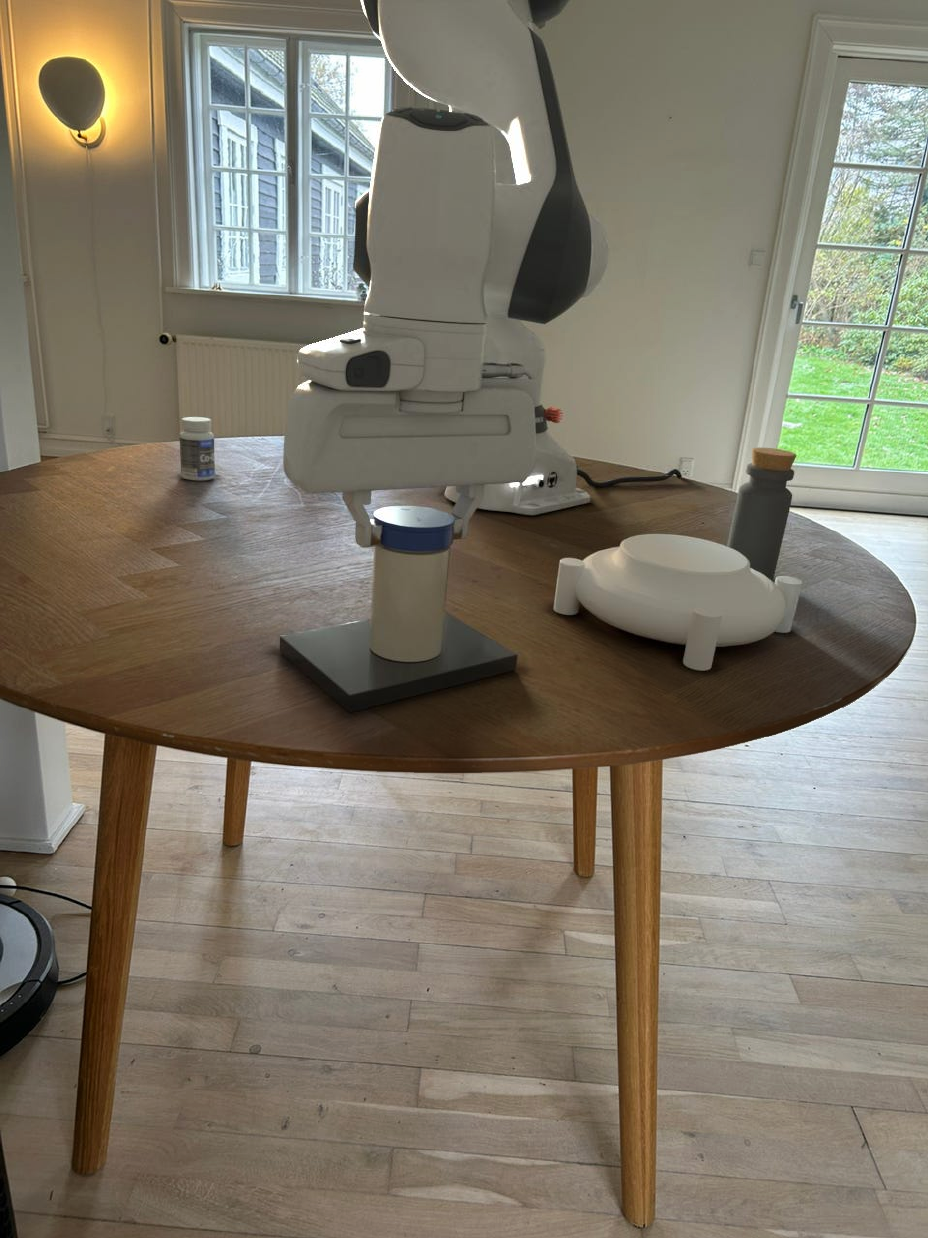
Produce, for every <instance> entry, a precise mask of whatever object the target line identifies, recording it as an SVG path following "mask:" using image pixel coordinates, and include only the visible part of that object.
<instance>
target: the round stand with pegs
mask: <svg viewBox="0 0 928 1238" xmlns="http://www.w3.org/2000/svg"><path fill="white" fill-rule="evenodd" d="M556 578H557V579H556V585H555V586H556V587H555V592H554V593H555V594H554V600H553V601H554V602H553V611H554V612H555V613H558V614H560V615H565V616H574V615H577V614H578V613H579V610H580V604H581V605H582V606H583V607H584V609H586V610H587V611H588V612H589V613H590V614H592V615H594V616H595V617H596V618H597V619H599V620H601V621H602V622H604V623H606V624H608V625H610V626H612V627H615V628H617V629H619V630H621V631H624V632H627V633H631V634H632V635H637V636H639V637H643V638H646V639H650V640H651V639H652V640H655V641H659V642H665V643H670V644H675V645H681V646H685V649H684V653H683V658H682V664H683V665H684V666H685V667H687V668H688V669H690V670H694V671H699V672H700V671H703V672H704V671H709V670H711V669H712V665H713V661H714V657H715V652H716V648H723V647H724V648H725V647H732V646H741V645H742V646H743V645H748V644H752V643H754V642H758V641H761V640H763V639H765V638H767V637H768V636H770V635H772V634H774V632H775V633H780V634H784V633H785V634H786V633H789V632H791V630H792V627H793V623H794V618H795V614H796V610H797V606H798V603H799V599H800V594H801V590H802V586H803V581H802V580H800V579H799V578H797V577H793V576H788V575H778V576H776V577H775V580H774V581H773V582H772V581H771V580H770V579H769V578H767V577H766V576H765V575H763V574H762V573H760V572H758V571H756V570H754V569H752V568H750V562H749V560H748V559H747V558H746V557H745V556H743V555H742V554H741V553H740V552H738V551H736V550H734V549H732V548H729V547H727V545H724V544H721V543H719V542H715V541H711V540H708V539H703V538H700V537H699V538H698V537H694V536H689V535H688V536H687V535H682V534H681V535H680V534H672V533H671V534H670V533H667V534H666V533H646V534H638V535H633V536H629V537H628V538H625V539H623V540H622V541H621V542H620V544H619V546H613V547H610V548H606V549H601V550H598V551H596V552H593V553H592V554H590V555H588V556H586V557H585V558H584V559H578V558H576V557H575V558H573V557H563V558H561V559H559V562H558V572H557V577H556Z"/></svg>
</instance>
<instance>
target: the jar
mask: <svg viewBox="0 0 928 1238" xmlns="http://www.w3.org/2000/svg"><path fill="white" fill-rule="evenodd" d="M450 553H451V546H450V547H448V548H445V549H442V550H437V551H423V552H421V551H405V550H399V549H394V548H390V547H386V546H384V545H381V546H375V547H373V563H372V564H373V566H372V585H371V586H372V587H371V603H370V604H371V605H370V619H371V623H370V643H369V646H370V649H371V650H372V651H373V652H374V653H375V654H377V655H378V656H380V657H383V658H386V659H389V660H394V661H400V662H420V661H426V660H430V659H432V658H435V657H436V656H438V655H439V654H440V653H441V650H442V638H443V627H444V615H445V611H446V601H447V590H448V579H449V566H450V556H451V555H450Z"/></svg>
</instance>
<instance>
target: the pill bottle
mask: <svg viewBox="0 0 928 1238" xmlns="http://www.w3.org/2000/svg"><path fill="white" fill-rule="evenodd" d="M181 429H182V430H183V431H181V432H180V433H179V455H180V459H179V460H180V475H181V478H182V479H184V480H189V481H195V482H196V481H199V482H202V481H209V480H213V479H214V478H215V477H216V464H215V463H216V462H215V461H216V460H215V459H216V458H215V436H214V433H213V432H211V430H212V419H210V418H209V417H201V416H188V417H183V418H181Z"/></svg>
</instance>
